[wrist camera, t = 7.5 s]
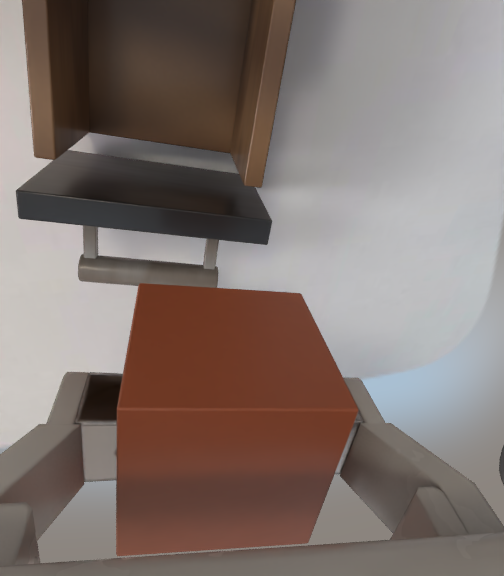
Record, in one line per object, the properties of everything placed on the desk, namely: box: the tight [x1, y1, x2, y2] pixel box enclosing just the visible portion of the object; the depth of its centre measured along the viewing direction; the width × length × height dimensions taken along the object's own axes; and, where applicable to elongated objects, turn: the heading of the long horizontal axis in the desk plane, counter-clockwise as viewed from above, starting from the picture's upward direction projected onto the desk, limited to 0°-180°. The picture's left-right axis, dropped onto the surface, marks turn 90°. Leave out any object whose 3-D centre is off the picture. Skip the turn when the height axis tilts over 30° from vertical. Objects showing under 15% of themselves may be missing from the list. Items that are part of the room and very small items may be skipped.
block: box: [116, 283, 358, 556], centre depth 10 cm, size 4×4×4 cm
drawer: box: [16, 0, 296, 288], centre depth 19 cm, size 17×10×8 cm, turn 170°
